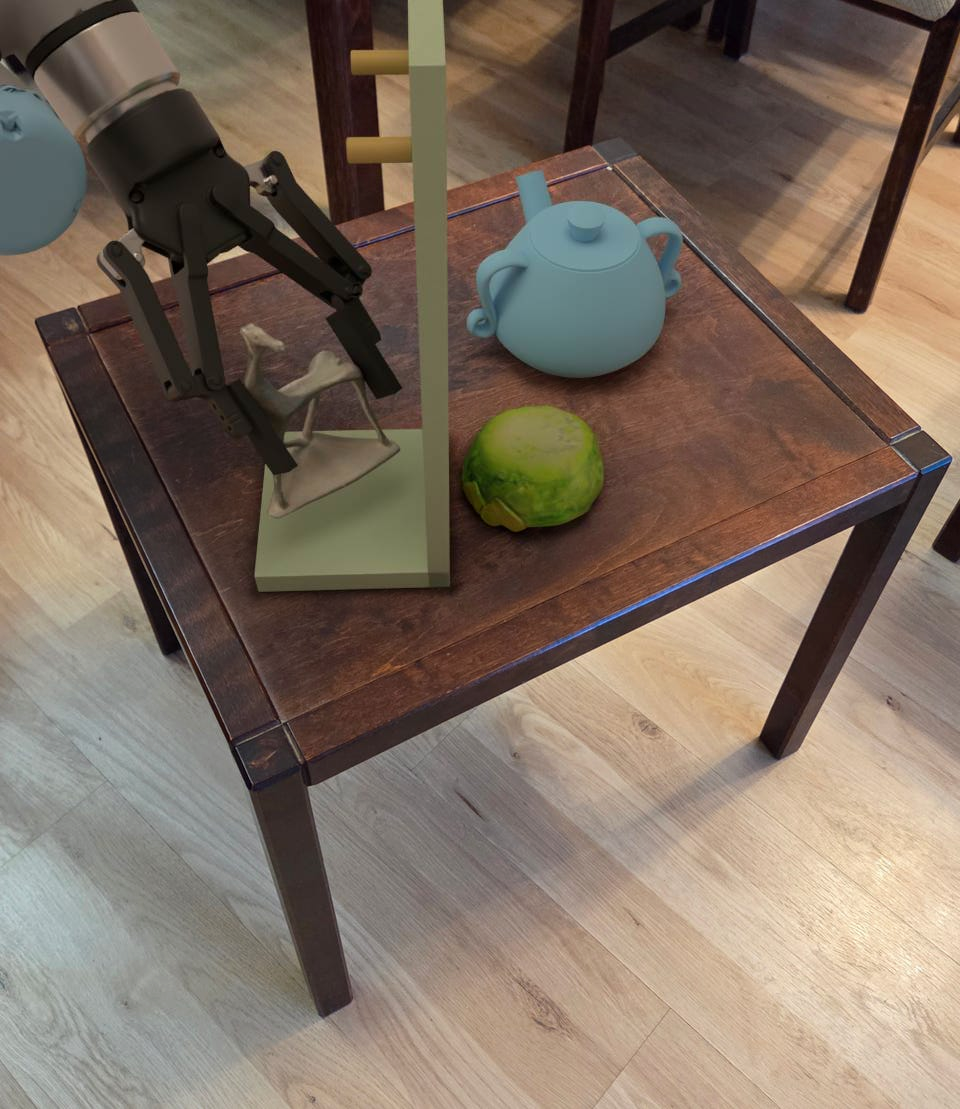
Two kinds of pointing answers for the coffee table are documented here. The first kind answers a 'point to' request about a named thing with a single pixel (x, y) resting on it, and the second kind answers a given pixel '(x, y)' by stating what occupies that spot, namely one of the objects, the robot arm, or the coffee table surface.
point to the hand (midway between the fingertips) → (339, 430)
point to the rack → (423, 461)
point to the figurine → (316, 454)
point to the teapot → (576, 285)
